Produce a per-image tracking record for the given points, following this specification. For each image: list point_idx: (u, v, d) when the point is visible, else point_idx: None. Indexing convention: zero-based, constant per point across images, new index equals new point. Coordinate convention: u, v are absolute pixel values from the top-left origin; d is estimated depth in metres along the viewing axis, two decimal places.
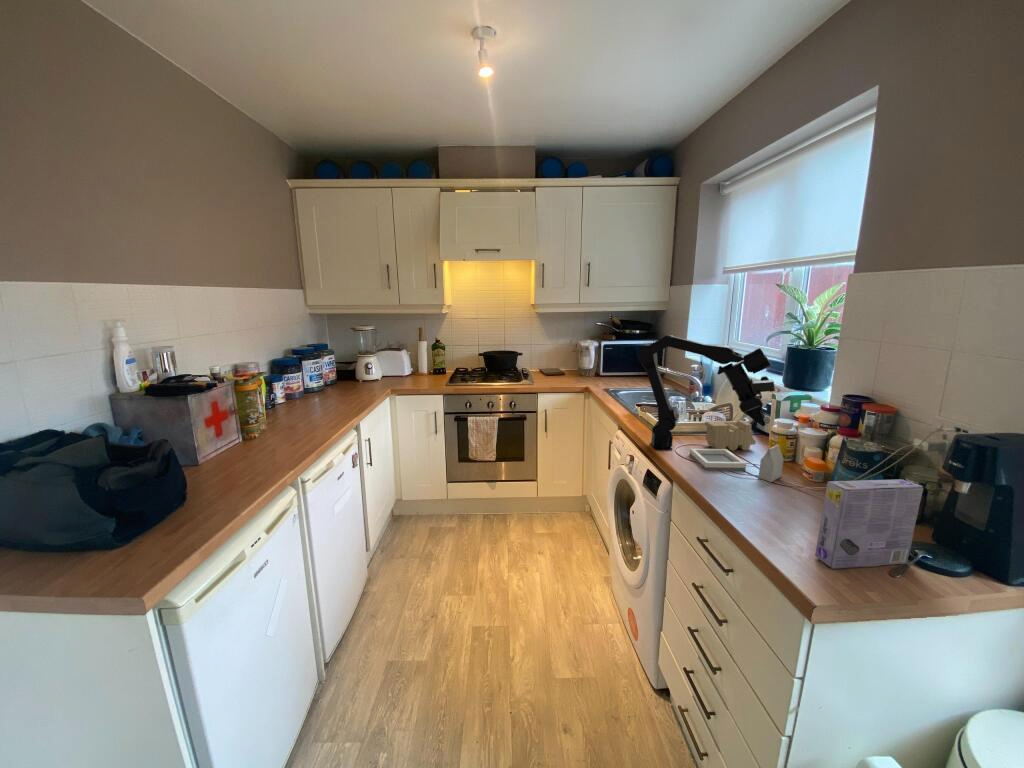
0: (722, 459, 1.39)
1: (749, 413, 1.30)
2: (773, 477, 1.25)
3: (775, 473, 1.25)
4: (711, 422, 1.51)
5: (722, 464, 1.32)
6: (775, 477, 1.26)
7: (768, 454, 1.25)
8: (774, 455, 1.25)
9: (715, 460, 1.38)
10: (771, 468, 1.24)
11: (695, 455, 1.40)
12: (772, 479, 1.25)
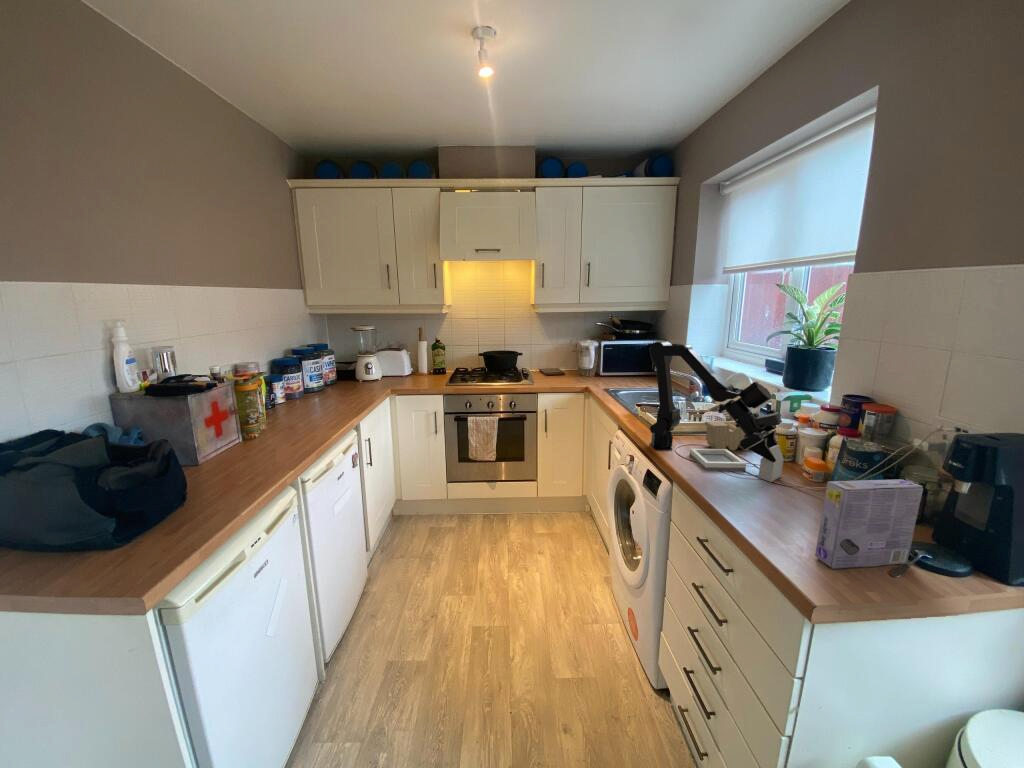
0: (722, 459, 1.39)
1: (755, 450, 1.25)
2: (773, 477, 1.25)
3: (775, 473, 1.25)
4: (711, 422, 1.51)
5: (722, 464, 1.32)
6: (775, 477, 1.26)
7: None
8: (774, 454, 1.25)
9: (715, 460, 1.38)
10: (771, 468, 1.24)
11: (695, 455, 1.40)
12: (772, 479, 1.25)
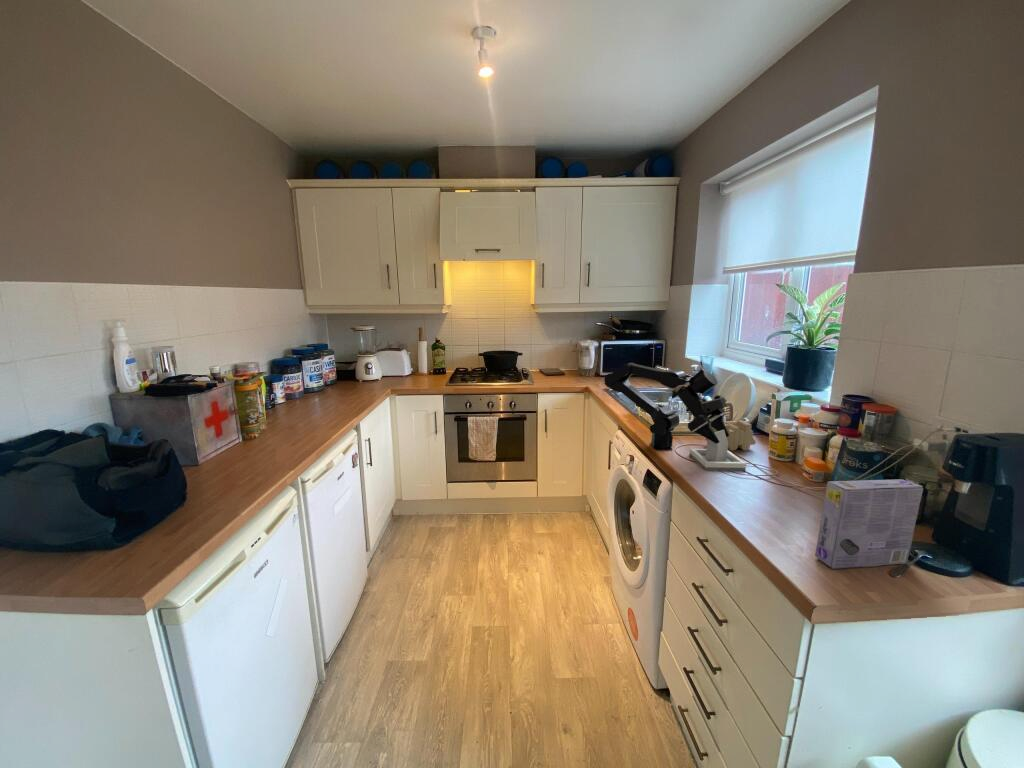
0: None
1: (700, 432, 1.34)
2: (717, 459, 1.36)
3: (720, 455, 1.36)
4: None
5: (722, 464, 1.32)
6: (720, 459, 1.37)
7: None
8: (718, 438, 1.36)
9: None
10: (715, 451, 1.35)
11: (695, 455, 1.40)
12: (717, 461, 1.36)
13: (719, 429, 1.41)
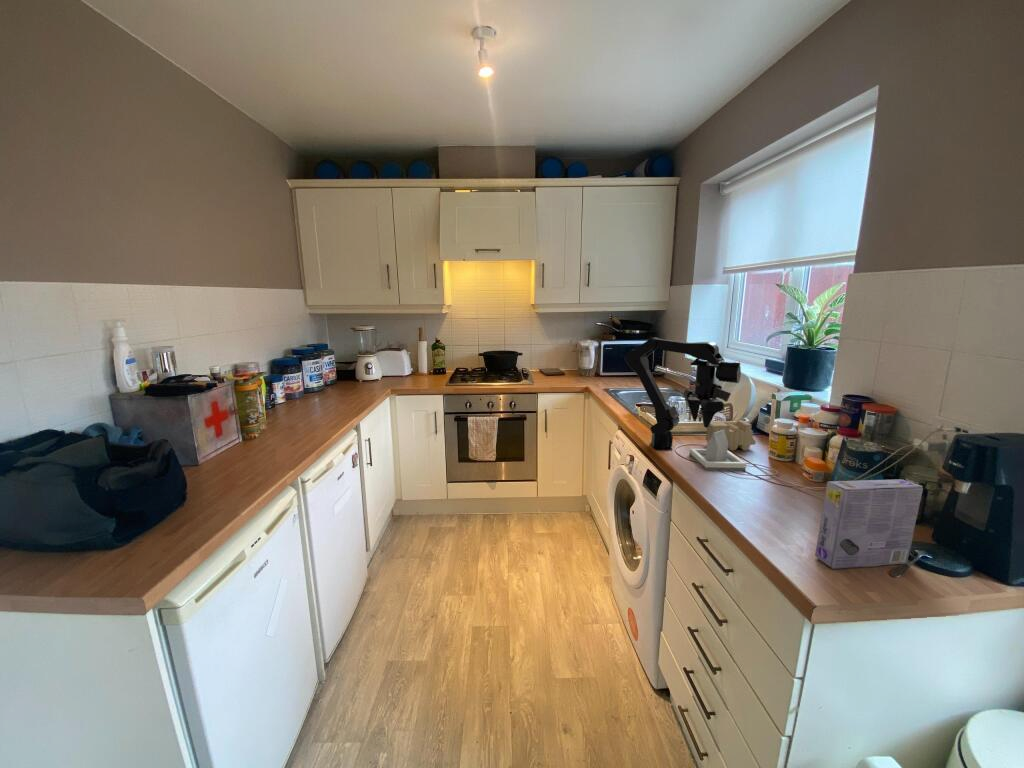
0: None
1: (705, 412, 1.35)
2: (717, 459, 1.36)
3: (720, 455, 1.36)
4: (711, 422, 1.51)
5: (722, 464, 1.32)
6: (720, 459, 1.37)
7: (713, 438, 1.36)
8: (718, 438, 1.36)
9: None
10: (715, 451, 1.35)
11: (695, 455, 1.40)
12: (717, 461, 1.36)
13: (693, 410, 1.46)
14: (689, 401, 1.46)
